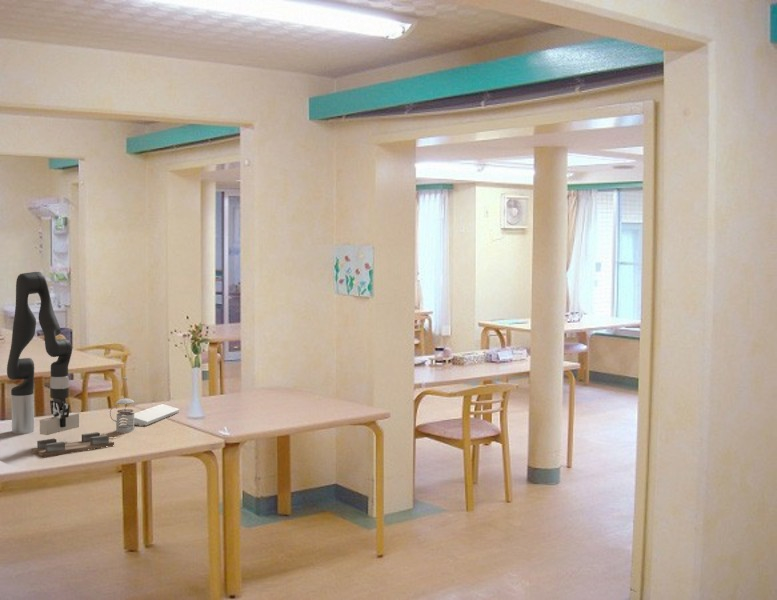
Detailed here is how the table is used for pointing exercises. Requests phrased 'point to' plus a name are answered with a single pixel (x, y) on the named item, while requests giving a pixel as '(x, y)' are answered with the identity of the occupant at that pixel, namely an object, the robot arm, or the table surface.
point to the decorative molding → (153, 414)
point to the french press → (124, 412)
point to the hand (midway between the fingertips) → (59, 425)
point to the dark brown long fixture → (71, 445)
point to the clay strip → (58, 424)
